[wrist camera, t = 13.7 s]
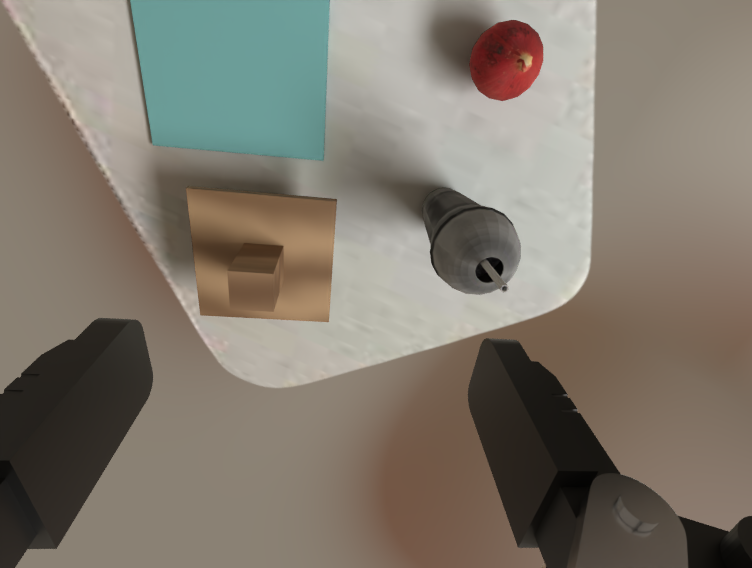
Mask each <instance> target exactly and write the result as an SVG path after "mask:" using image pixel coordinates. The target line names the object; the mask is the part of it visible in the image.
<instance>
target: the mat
mask: <svg viewBox="0 0 752 568" xmlns="http://www.w3.org/2000/svg"><path fill="white" fill-rule="evenodd" d="M130 2H131V9H132V15H133V22H134V28H135V34H136V41H137V47H138V54H139V60H140V66H141V73H142V79H143V86H144V92H145V98H146V105H147V111H148V117H149V124H150V130H151V137H152V143H153V145H156V146H167V147H178V148H189V149H200V150H211V151H222V152H233V153H244V154H255V155H266V156H277V157H288V158H299V159H310V160H321V161H323V160H324V135H325V108H326V82H327V55H328V29H329V2H330V0H130Z"/></svg>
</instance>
